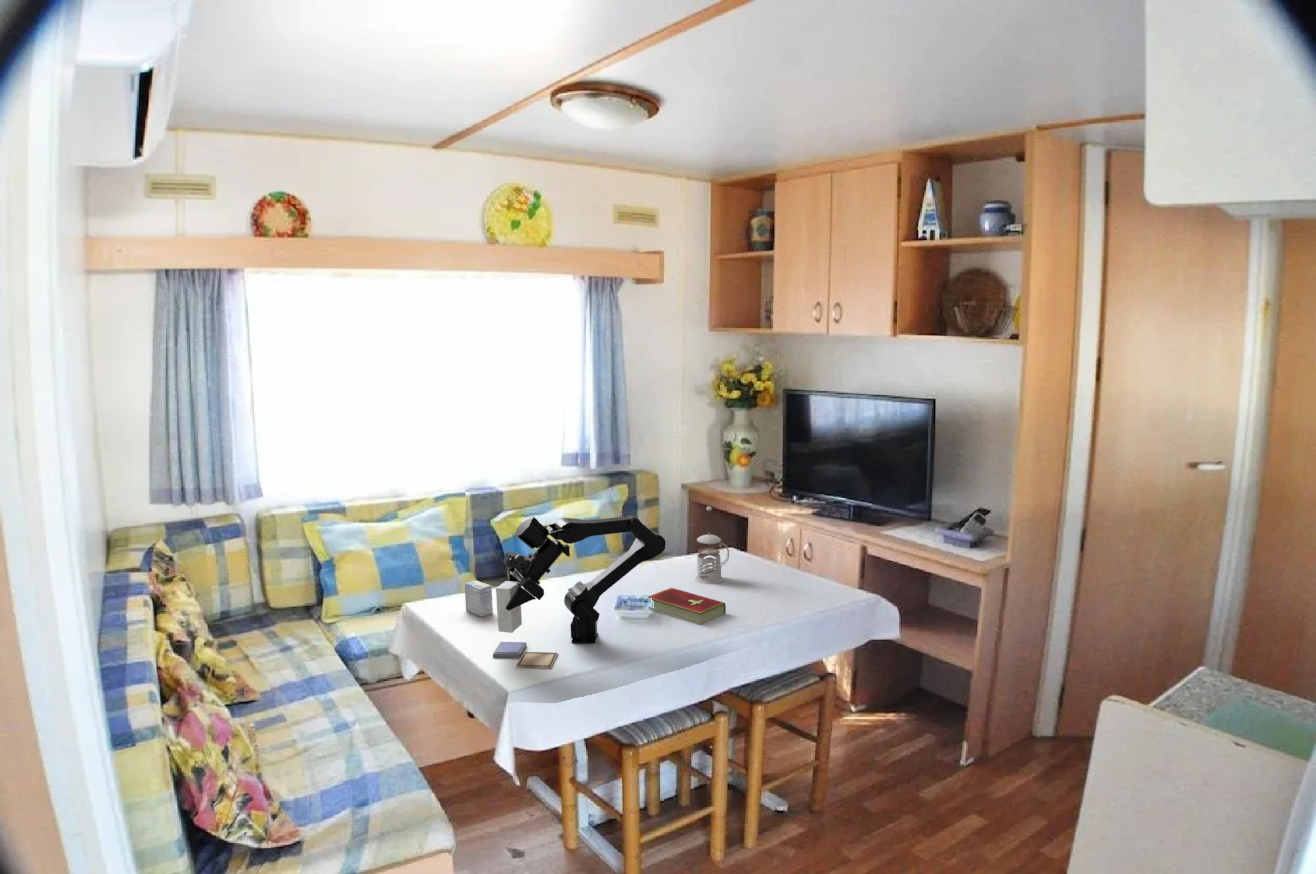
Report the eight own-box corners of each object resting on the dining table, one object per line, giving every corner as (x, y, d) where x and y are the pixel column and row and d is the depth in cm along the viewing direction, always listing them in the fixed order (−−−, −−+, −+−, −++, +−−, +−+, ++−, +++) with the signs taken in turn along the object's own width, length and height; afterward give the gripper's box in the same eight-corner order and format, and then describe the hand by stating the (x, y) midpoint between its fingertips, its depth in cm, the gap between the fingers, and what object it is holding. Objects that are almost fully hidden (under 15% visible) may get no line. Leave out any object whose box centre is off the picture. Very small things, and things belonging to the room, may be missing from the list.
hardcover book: (672, 599, 263) (672, 586, 263) (725, 615, 249) (725, 601, 249) (646, 609, 254) (646, 596, 254) (700, 626, 241) (700, 612, 240)
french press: (692, 575, 285) (692, 503, 282) (725, 574, 287) (726, 502, 283) (696, 584, 276) (696, 510, 272) (731, 583, 277) (732, 509, 273)
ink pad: (526, 645, 226) (526, 641, 226) (519, 658, 218) (519, 653, 218) (500, 645, 227) (500, 641, 226) (493, 657, 219) (492, 652, 219)
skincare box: (507, 623, 225) (505, 580, 223) (522, 624, 224) (520, 581, 222) (497, 632, 219) (495, 587, 217) (512, 633, 218) (510, 589, 216)
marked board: (557, 654, 220) (557, 652, 220) (551, 668, 212) (551, 666, 212) (524, 653, 221) (524, 651, 221) (515, 667, 212) (515, 665, 212)
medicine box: (493, 613, 251) (492, 585, 249) (480, 617, 247) (479, 589, 246) (477, 607, 256) (476, 579, 255) (465, 611, 253) (464, 583, 251)
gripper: (512, 532, 228) (473, 576, 225) (529, 549, 211) (488, 598, 208) (542, 556, 232) (504, 600, 230) (561, 575, 215) (520, 623, 213)
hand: (503, 605), depth 220 cm, fingers closed on skincare box, 7 cm apart
